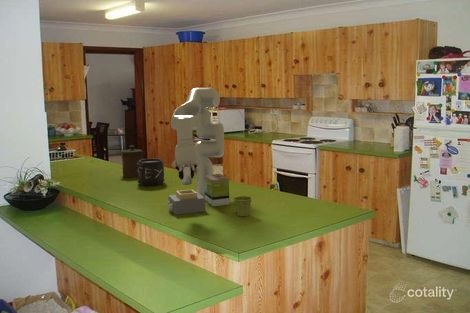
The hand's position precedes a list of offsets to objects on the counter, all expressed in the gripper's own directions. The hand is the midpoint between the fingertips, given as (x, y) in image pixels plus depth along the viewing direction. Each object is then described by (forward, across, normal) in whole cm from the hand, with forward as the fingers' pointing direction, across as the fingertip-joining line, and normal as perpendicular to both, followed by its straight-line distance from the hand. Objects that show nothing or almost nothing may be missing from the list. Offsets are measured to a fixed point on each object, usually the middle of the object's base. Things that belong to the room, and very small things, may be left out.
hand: (186, 178), depth 250 cm
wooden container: (+20, +8, -119) cm, 121 cm away
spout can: (+3, 0, 0) cm, 3 cm away
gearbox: (+19, -2, -9) cm, 21 cm away
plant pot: (+19, -25, +13) cm, 34 cm away
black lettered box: (+20, +3, -83) cm, 85 cm away
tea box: (+19, -21, -17) cm, 33 cm away
